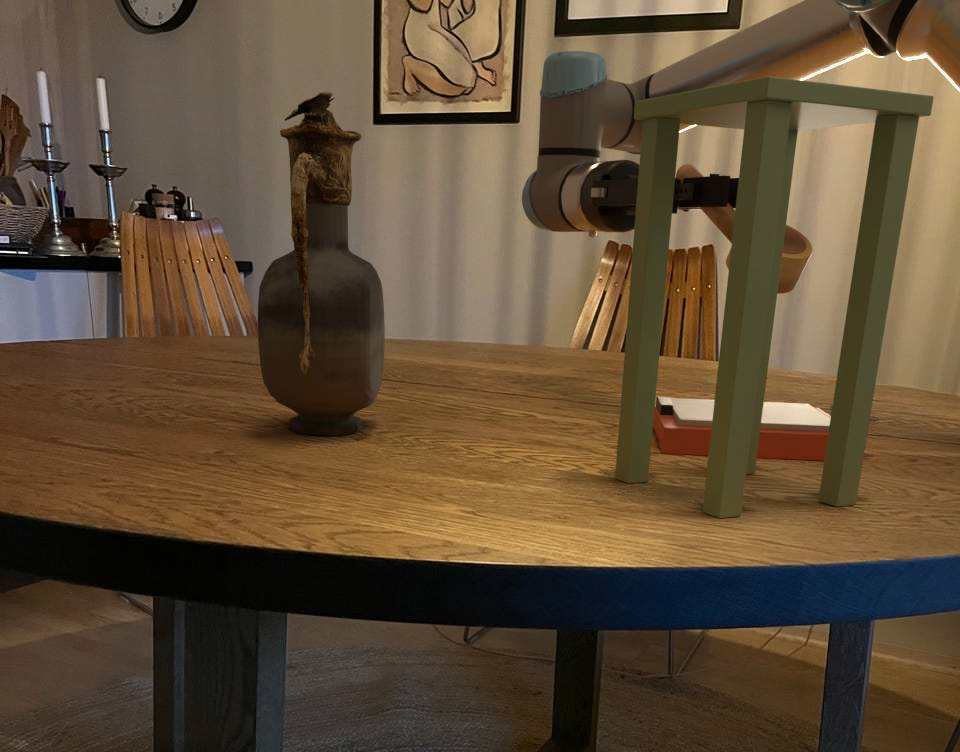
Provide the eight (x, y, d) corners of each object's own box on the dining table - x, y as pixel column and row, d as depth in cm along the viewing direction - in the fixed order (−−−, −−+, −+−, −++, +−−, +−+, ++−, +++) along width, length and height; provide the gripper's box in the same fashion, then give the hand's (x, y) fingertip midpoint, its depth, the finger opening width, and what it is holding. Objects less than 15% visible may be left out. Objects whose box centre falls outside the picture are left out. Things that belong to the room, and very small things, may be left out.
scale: (815, 430, 112) (820, 398, 111) (857, 462, 96) (863, 425, 94) (649, 422, 114) (652, 391, 112) (662, 453, 97) (665, 416, 96)
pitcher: (390, 419, 111) (389, 106, 100) (364, 452, 93) (360, 76, 82) (289, 415, 111) (278, 103, 100) (244, 448, 93) (224, 73, 82)
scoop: (809, 293, 97) (827, 258, 94) (749, 293, 94) (766, 257, 91) (705, 182, 108) (719, 147, 105) (649, 179, 105) (662, 143, 103)
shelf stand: (865, 506, 79) (934, 95, 69) (717, 520, 73) (768, 75, 63) (741, 467, 92) (783, 116, 81) (606, 477, 86) (634, 101, 76)
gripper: (660, 234, 123) (794, 236, 103) (547, 229, 117) (667, 231, 97) (666, 165, 120) (805, 154, 100) (551, 156, 114) (675, 143, 94)
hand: (737, 191), depth 99 cm, fingers closed on scoop, 2 cm apart
